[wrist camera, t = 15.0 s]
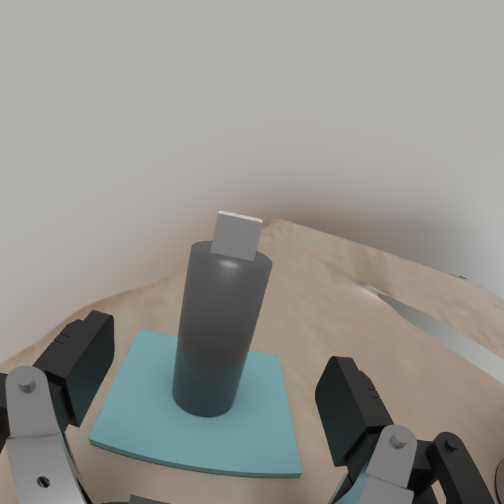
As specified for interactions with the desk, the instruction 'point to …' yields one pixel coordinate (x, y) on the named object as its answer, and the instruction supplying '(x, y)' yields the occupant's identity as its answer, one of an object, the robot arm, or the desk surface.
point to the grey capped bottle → (219, 315)
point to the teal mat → (198, 417)
